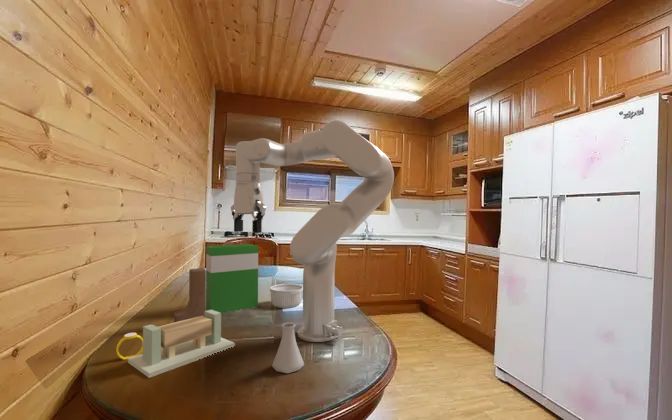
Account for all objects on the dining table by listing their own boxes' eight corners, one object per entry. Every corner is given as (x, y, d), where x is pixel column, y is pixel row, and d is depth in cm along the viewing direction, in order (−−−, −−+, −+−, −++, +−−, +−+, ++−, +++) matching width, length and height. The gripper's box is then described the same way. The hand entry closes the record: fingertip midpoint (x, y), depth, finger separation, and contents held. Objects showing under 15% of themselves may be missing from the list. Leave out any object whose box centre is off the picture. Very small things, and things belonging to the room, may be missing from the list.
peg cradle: (234, 346, 90) (234, 313, 90) (149, 377, 73) (149, 337, 73) (210, 336, 98) (210, 305, 98) (127, 362, 80) (128, 325, 81)
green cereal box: (251, 302, 135) (251, 243, 135) (257, 307, 129) (258, 245, 129) (205, 309, 125) (206, 246, 125) (210, 314, 119) (211, 247, 119)
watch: (117, 363, 81) (115, 339, 80) (116, 359, 83) (114, 336, 82) (145, 355, 84) (144, 332, 84) (144, 352, 86) (142, 329, 86)
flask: (289, 357, 84) (289, 317, 84) (309, 365, 79) (309, 324, 79) (266, 367, 78) (266, 325, 78) (287, 377, 74) (287, 332, 74)
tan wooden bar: (211, 334, 88) (211, 319, 88) (164, 348, 79) (164, 331, 79) (202, 330, 92) (202, 315, 92) (156, 343, 83) (156, 326, 83)
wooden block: (175, 330, 103) (175, 272, 103) (173, 325, 107) (174, 270, 107) (205, 325, 108) (206, 269, 108) (203, 321, 111) (203, 267, 112)
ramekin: (309, 303, 135) (309, 286, 135) (288, 311, 123) (288, 292, 123) (284, 298, 142) (284, 282, 142) (262, 305, 130) (262, 288, 131)
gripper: (274, 179, 106) (274, 232, 106) (241, 182, 117) (241, 230, 116) (255, 177, 100) (255, 233, 100) (222, 180, 111) (222, 231, 111)
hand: (247, 232), depth 108 cm, fingers open, 9 cm apart
